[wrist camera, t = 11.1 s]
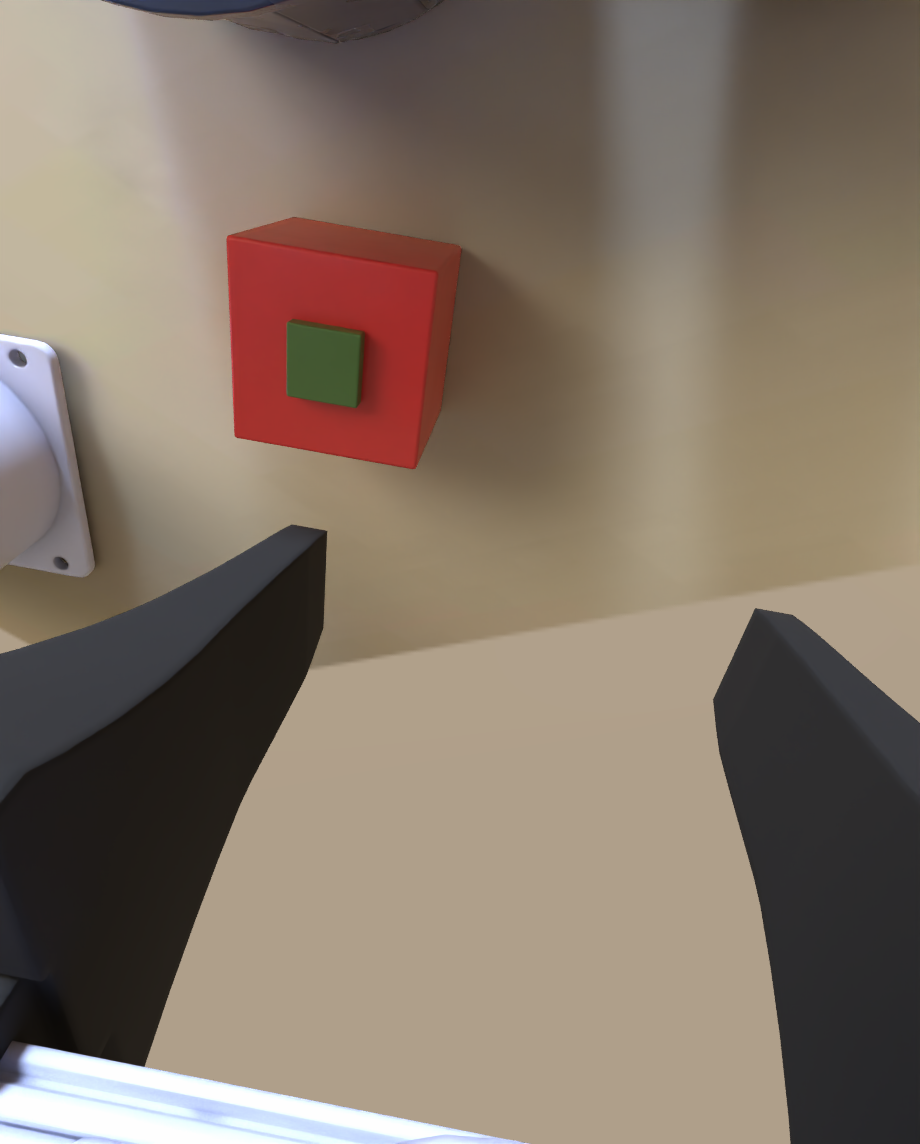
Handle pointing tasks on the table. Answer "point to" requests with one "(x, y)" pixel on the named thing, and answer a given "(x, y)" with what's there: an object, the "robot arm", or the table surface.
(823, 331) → the table surface
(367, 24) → the pot
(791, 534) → the table surface
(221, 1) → the pot lid
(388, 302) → the block
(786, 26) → the table surface
